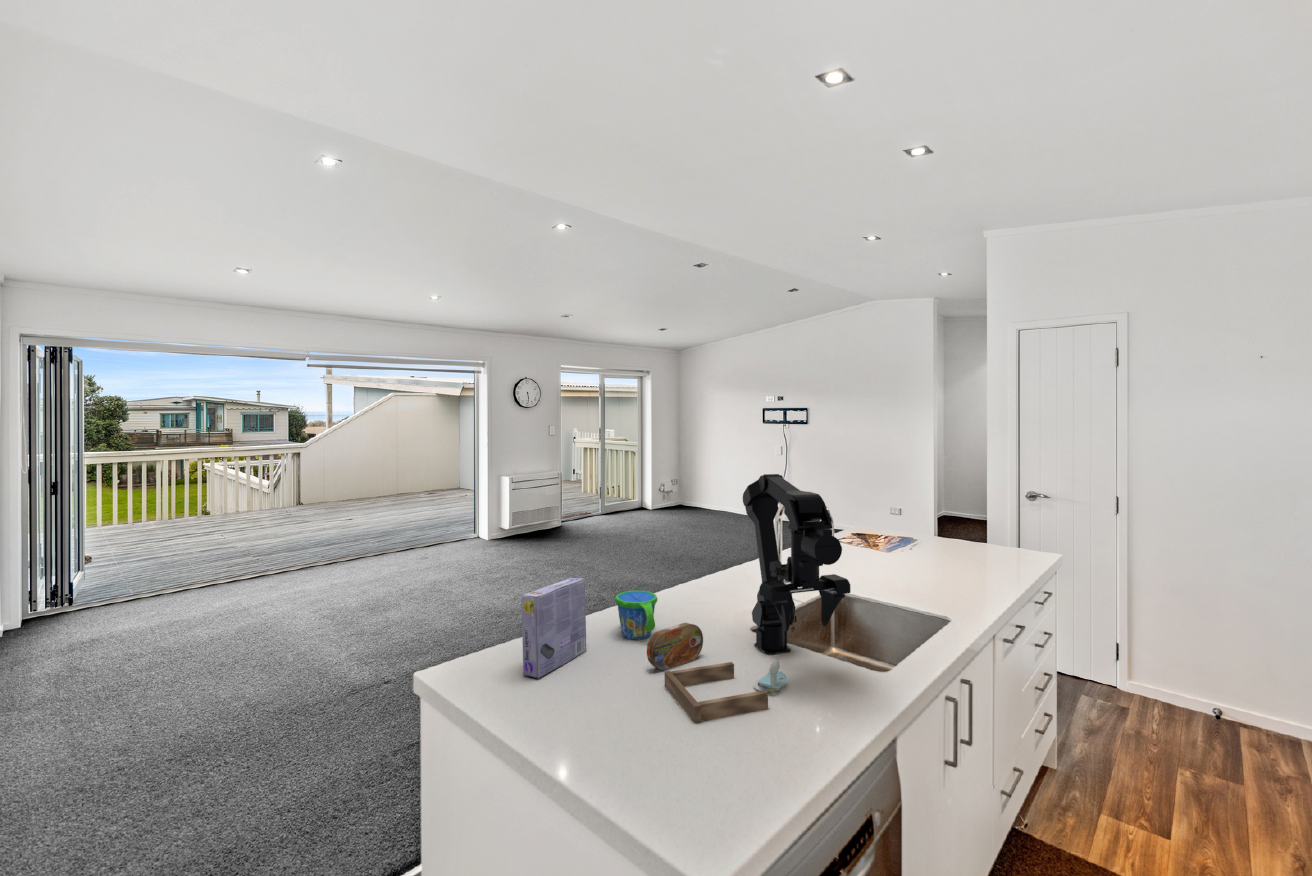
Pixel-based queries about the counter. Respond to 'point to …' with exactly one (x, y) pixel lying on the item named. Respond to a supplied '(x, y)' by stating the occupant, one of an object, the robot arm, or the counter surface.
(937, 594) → the counter surface
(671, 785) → the counter surface
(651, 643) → the tin
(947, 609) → the counter surface
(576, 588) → the cake pan box
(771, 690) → the pacifier
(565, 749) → the counter surface
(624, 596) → the snack cup
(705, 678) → the walnut bay
